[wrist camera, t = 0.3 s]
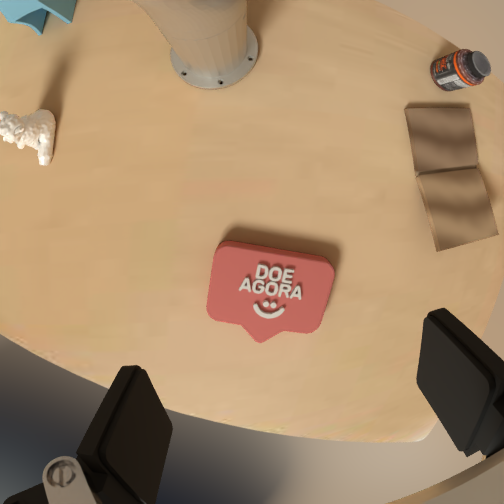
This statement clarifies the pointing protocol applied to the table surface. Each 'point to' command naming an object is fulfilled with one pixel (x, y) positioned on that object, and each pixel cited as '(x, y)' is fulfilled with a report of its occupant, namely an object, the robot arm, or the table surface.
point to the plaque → (268, 289)
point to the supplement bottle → (460, 70)
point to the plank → (457, 207)
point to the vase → (36, 11)
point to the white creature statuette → (31, 132)
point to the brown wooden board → (441, 139)
